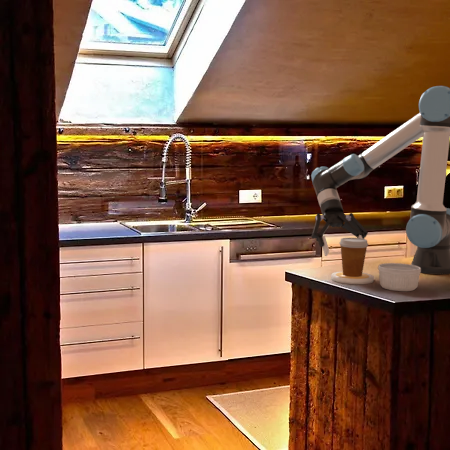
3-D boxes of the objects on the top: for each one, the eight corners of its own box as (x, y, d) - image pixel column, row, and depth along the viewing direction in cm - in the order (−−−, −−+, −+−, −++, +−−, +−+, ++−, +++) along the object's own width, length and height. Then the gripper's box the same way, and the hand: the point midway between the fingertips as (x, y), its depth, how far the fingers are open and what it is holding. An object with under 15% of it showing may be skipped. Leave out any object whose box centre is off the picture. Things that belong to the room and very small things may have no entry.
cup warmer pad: (352, 274, 243) (352, 269, 243) (382, 281, 232) (382, 276, 232) (322, 278, 236) (322, 273, 235) (351, 285, 224) (352, 281, 224)
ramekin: (395, 281, 232) (396, 261, 232) (428, 289, 222) (429, 267, 221) (368, 286, 225) (369, 265, 224) (401, 294, 214) (402, 271, 213)
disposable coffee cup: (344, 278, 228) (345, 241, 226) (333, 272, 237) (335, 237, 236) (371, 277, 230) (373, 241, 228) (360, 271, 239) (361, 237, 238)
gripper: (358, 210, 256) (375, 258, 243) (294, 211, 250) (308, 260, 237) (366, 197, 250) (383, 246, 238) (300, 197, 244) (314, 247, 231)
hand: (345, 253), depth 237 cm, fingers open, 13 cm apart
